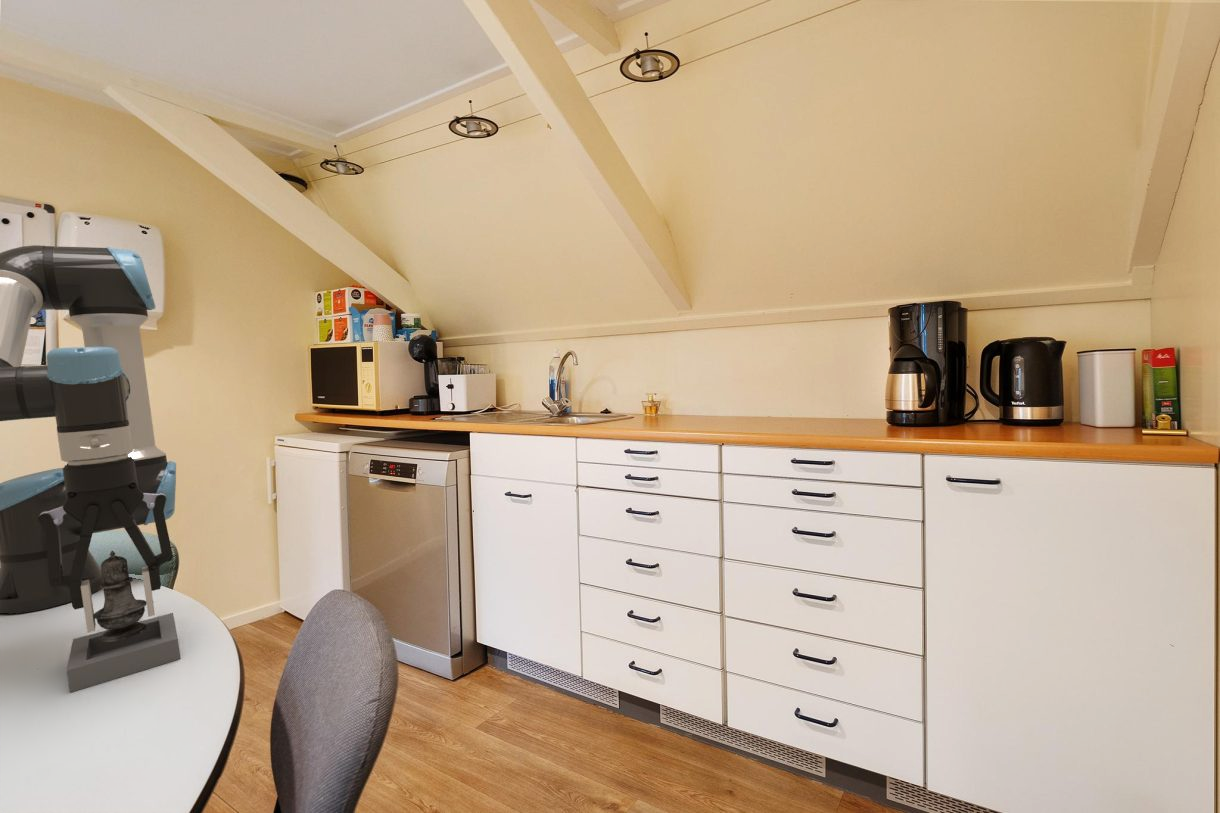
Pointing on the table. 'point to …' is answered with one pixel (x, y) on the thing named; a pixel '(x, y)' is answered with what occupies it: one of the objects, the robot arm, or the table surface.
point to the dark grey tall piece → (119, 602)
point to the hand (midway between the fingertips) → (122, 620)
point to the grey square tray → (122, 653)
